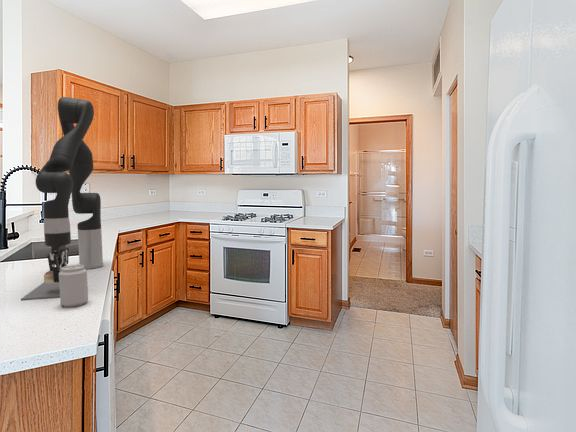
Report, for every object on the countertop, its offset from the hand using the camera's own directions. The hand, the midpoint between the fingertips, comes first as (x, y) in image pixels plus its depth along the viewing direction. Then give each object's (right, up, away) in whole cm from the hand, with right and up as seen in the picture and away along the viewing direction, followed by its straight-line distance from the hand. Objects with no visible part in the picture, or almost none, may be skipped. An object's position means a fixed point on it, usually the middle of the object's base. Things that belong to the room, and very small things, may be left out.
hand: (60, 279), depth 122 cm
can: (+11, -6, -11) cm, 17 cm away
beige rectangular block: (0, 0, 0) cm, 0 cm away
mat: (-4, -4, +4) cm, 7 cm away
